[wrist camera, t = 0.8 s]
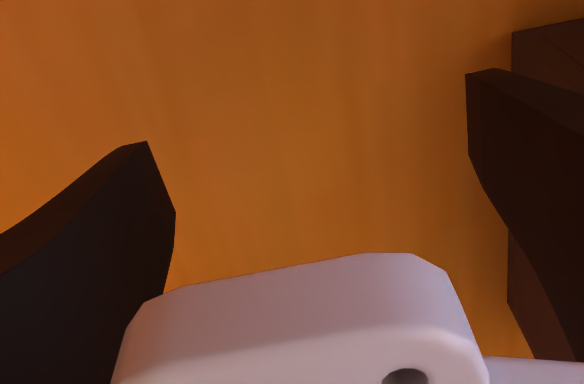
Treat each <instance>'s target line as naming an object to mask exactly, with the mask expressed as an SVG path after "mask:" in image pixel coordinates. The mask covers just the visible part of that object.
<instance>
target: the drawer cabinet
mask: <svg viewBox="0 0 584 384" xmlns="http://www.w3.org/2000/svg"><path fill="white" fill-rule="evenodd" d="M511 72H514V73H517V74H521V75H524V76H527V77H530V78H533V79H536V80H539V81H543V82H546V83H549V84H552V85H555V86H559V87H562V88H565V89H569V90H572V91H576V92H579V93H583V94H584V18H583V19H578V20H573V21H568V22H563V23H558V24H553V25H548V26H544V27H539V28H534V29H529V30H524V31H519V32H514V33H512V63H511ZM507 303H508V305H509V307H510V309H511V311H512V312H513V315H514V317H515V319H516V321H517V323H518V325H519V327H520V329H521V331H522V333H523V335H524V337H525V339H526V341H527V343H528V345H529V347H530V349H531V351H532V353H533V355H534V357H535V359H540V360H554V361H568V362H576V359H575V357H574V354H573V352H572V350H571V348H570V345H569V343H568V341H567V339H566V336H565V334H564V332H563V330H562V327H561V325H560V323H559V321H558V319H557V316H556V314H555V312H554V310H553V308H552V306H551V303H550V301H549V299H548V297H547V295H546V293H545V291H544V289H543V287H542V285H541V283H540V280H539V278H538V276H537V274H536V273H535V271H534V269H533V267H532V266H531V264H530V262H529V260H528V259H527V257H526V255H525V254H524V252H523V251H522V249H521V248H520V246H519V244H518V243H517V241H516V240H515V238H514V237H513V235H512V234H511V232H510V230H509V231H508V287H507Z"/></svg>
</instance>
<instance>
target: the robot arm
mask: <svg viewBox="0 0 584 384" xmlns="http://www.w3.org/2000/svg"><path fill="white" fill-rule="evenodd" d="M465 85H466V108H467V132H468V155H469V157H470V160H471V162H472V165H473V167H474V169H475V172H476V174H477V176H478V179H479V181H480V183H481V185H482V188H483V189H484V191H485V193H486V194H487V196H488V198H489V199H490V201H491V202H492V204H493V206H494V207H495V209H496V210H497V212H498V213H499V215H500V217H501V218H502V220H503V221H504V223H505V224H506V226H507V227H508V229H509V230H510V232H511V234H512V235H513V237H514V238H515V240H516V241H517V243H518V244H519V246H520V248H521V249H522V251H523V252H524V254H525V255H526V257H527V259H528V260H529V262H530V264H531V266H532V267H533V269H534V271H535V273H536V274H537V276H538V278H539V280H540V283H541V285H542V287H543V289H544V291H545V293H546V295H547V297H548V299H549V301H550V303H551V306H552V308H553V310H554V312H555V314H556V316H557V319H558V321H559V323H560V325H561V327H562V330H563V332H564V334H565V336H566V339H567V341H568V343H569V345H570V348H571V350H572V352H573V354H574V357H575V359H576V362H568V361H554V360H540V359H526V358H512V357H498V356H483V355H481V352H480V350H479V347H478V345H477V342H476V340H475V337H474V335H473V332H472V330H471V327H470V325H469V322H468V320H467V317H466V315H465V313H464V310H463V308H462V305H461V303H460V300H459V298H458V296H457V294H456V292H455V289H454V287H453V285H452V283H451V281H450V279H449V277H448V275H447V273H446V271H445V270H443V269H441V268H439V267H437V266H435V265H433V264H431V263H429V262H428V261H426V260H424V259H422V258H420V257H418V256H416V255H414V254H412V253H376V252H366V253H360V254H355V255H349V256H344V257H339V258H333V259H328V260H322V261H317V262H312V263H306V264H301V265H295V266H290V267H285V268H279V269H274V270H268V271H263V272H258V273H252V274H247V275H241V276H236V277H231V278H225V279H220V280H215V281H209V282H204V283H198V284H193V285H188V286H182V287H179V288H177V289H174V290H172V291H170V292H167V293H165V294H163V291H164V287H165V283H166V279H167V275H168V270H169V266H170V262H171V257H172V253H173V248H174V237H175V221H176V212H175V209H174V207H173V204H172V202H171V199H170V197H169V194H168V192H167V189H166V187H165V184H164V182H163V179H162V177H161V175H160V172H159V170H158V167H157V165H156V162H155V160H154V157H153V155H152V152H151V150H150V147H149V145H148V142H147V141H143V142H138V143H134V144H129V145H124V146H121V147H119V148H117V149H115V150H114V151H112V152H111V153H109V154H108V155H107V156H105V157H104V158H103V159H101V160H100V161H99V162H97V163H96V164H95V165H94V166H93V167H91V168H90V169H89V170H88V171H86V172H85V173H84V174H83V175H81V176H80V177H79V178H78V179H76V180H75V181H74V182H73V183H72V184H70V185H69V186H68V187H67V188H65V189H64V190H63V191H61V192H60V193H59V194H57V195H56V196H55V197H53V198H52V199H51V200H50V201H48V202H47V203H46V204H44V205H43V206H42V207H40V208H39V209H38V210H36V211H35V212H34V213H32V214H31V215H29V216H28V217H26V218H25V219H23V220H22V221H20V222H19V223H17V224H16V225H14V226H13V227H11V228H10V229H8V230H6V231H5V232H3V233H2V234H0V384H584V94H583V93H579V92H576V91H572V90H569V89H565V88H562V87H559V86H555V85H552V84H549V83H546V82H543V81H539V80H536V79H533V78H530V77H527V76H524V75H521V74H517V73H514V72H511V71H507V70H503V69H498V68H491V69H486V70H481V71H477V72H472V73H467V74H465Z"/></svg>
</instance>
